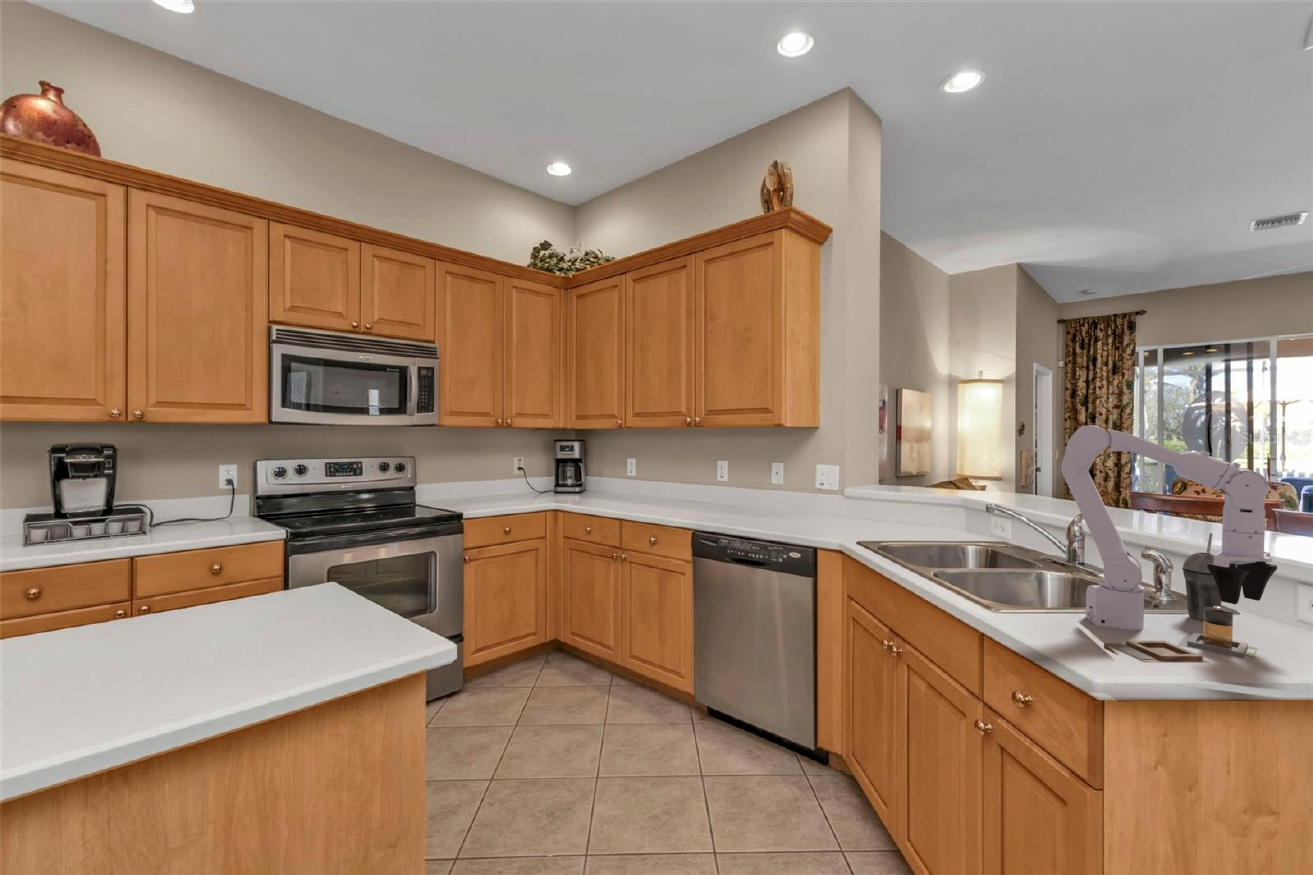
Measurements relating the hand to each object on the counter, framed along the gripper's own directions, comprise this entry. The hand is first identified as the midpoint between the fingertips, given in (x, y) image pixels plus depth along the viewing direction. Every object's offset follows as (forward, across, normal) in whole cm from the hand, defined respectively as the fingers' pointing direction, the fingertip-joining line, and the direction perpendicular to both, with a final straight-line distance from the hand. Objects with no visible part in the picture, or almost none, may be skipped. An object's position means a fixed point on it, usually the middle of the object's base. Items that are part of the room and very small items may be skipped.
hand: (1240, 601), depth 111 cm
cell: (+8, -6, +1) cm, 10 cm away
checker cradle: (+10, -6, +1) cm, 11 cm away
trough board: (+10, -21, +3) cm, 23 cm away
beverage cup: (+10, +13, +12) cm, 20 cm away
